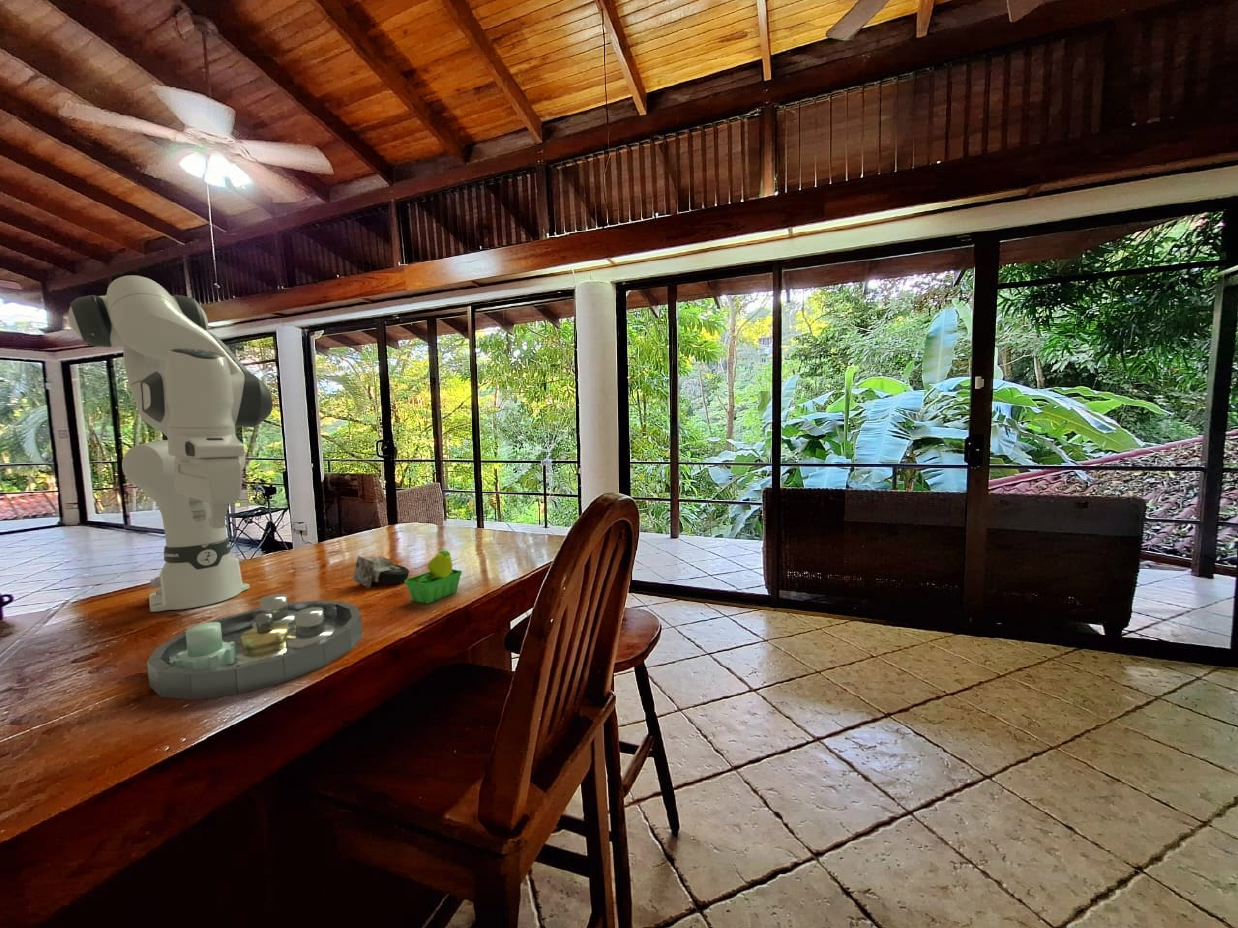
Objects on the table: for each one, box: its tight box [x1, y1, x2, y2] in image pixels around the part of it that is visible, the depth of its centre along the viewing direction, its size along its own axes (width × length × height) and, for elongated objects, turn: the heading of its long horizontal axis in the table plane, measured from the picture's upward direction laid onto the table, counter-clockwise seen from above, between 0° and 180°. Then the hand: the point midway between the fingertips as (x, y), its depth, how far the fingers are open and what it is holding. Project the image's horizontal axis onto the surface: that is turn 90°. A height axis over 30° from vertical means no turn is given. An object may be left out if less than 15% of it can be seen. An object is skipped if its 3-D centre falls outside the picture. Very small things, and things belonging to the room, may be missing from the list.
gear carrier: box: [146, 593, 363, 701], centre depth 86 cm, size 30×30×8 cm
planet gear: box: [174, 621, 236, 669], centre depth 79 cm, size 8×8×6 cm
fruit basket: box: [404, 550, 463, 604], centre depth 113 cm, size 11×9×11 cm
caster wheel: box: [352, 555, 410, 589], centre depth 126 cm, size 7×11×10 cm
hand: (207, 524), depth 83 cm, fingers open, 8 cm apart
